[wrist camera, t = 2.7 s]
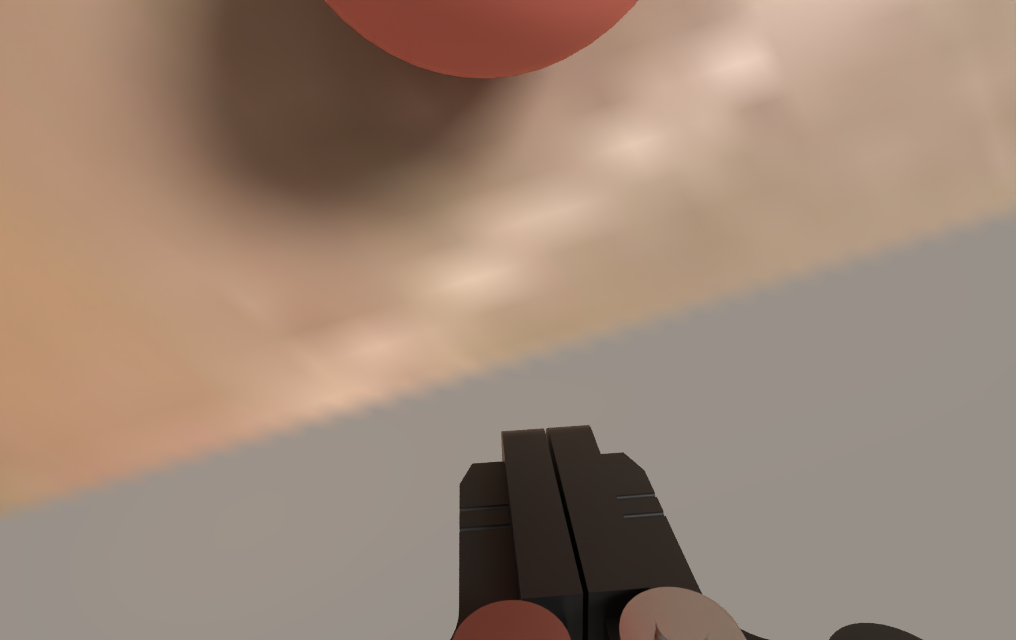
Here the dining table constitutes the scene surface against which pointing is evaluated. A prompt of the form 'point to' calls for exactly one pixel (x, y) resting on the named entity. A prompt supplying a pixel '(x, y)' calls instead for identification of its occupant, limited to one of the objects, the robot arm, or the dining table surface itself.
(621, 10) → the ball
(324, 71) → the dining table surface
